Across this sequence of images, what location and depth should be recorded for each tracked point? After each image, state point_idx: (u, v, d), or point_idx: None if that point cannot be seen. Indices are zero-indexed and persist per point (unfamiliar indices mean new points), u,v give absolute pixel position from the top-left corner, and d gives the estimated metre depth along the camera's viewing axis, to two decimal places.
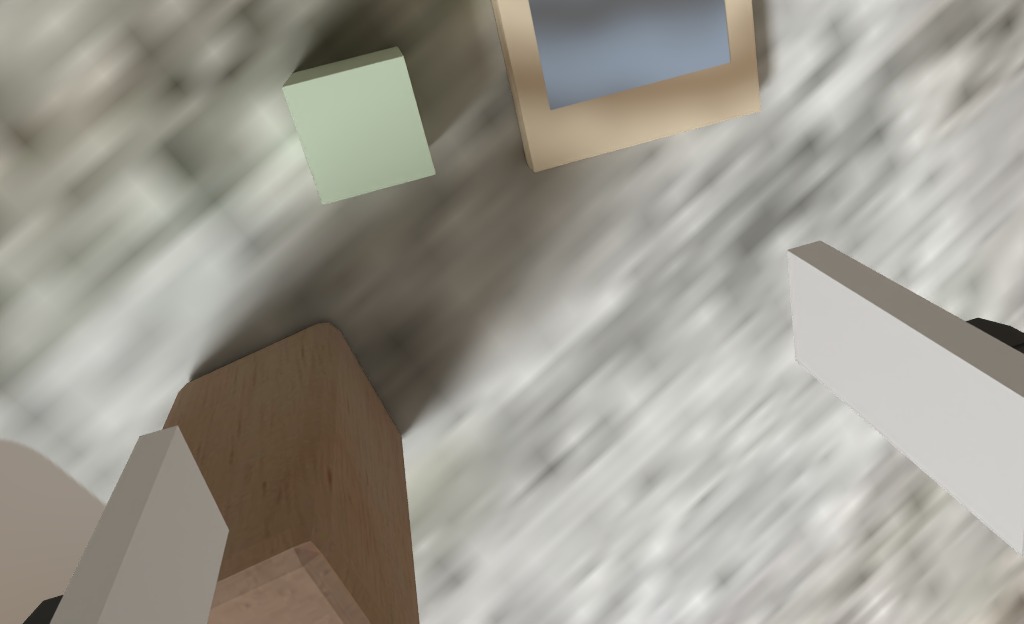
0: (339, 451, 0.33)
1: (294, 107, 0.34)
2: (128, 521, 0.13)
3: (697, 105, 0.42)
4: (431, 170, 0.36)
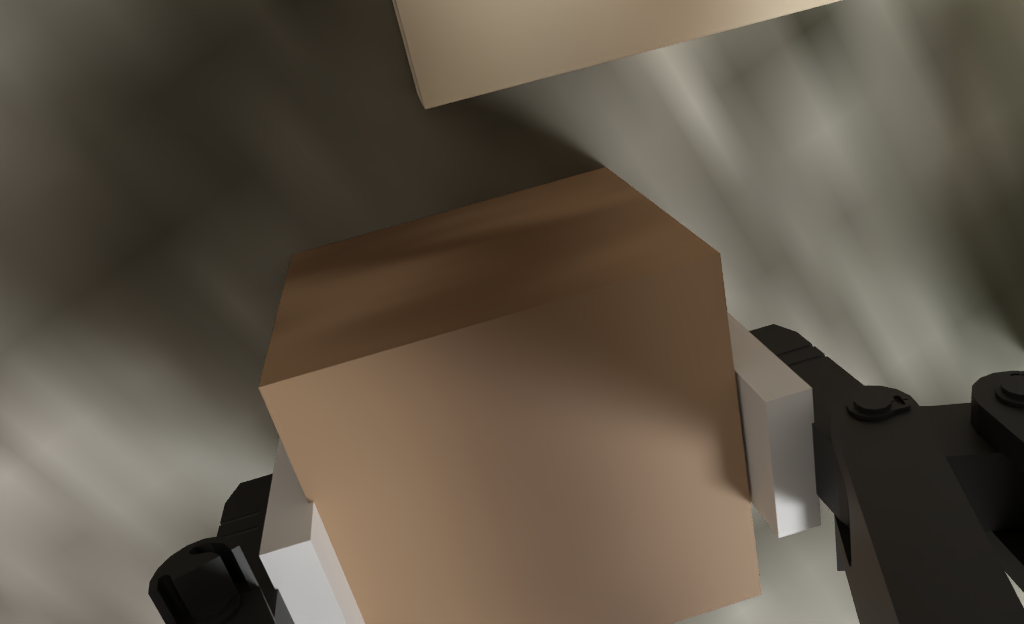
0: None
1: None
2: None
3: None
4: None
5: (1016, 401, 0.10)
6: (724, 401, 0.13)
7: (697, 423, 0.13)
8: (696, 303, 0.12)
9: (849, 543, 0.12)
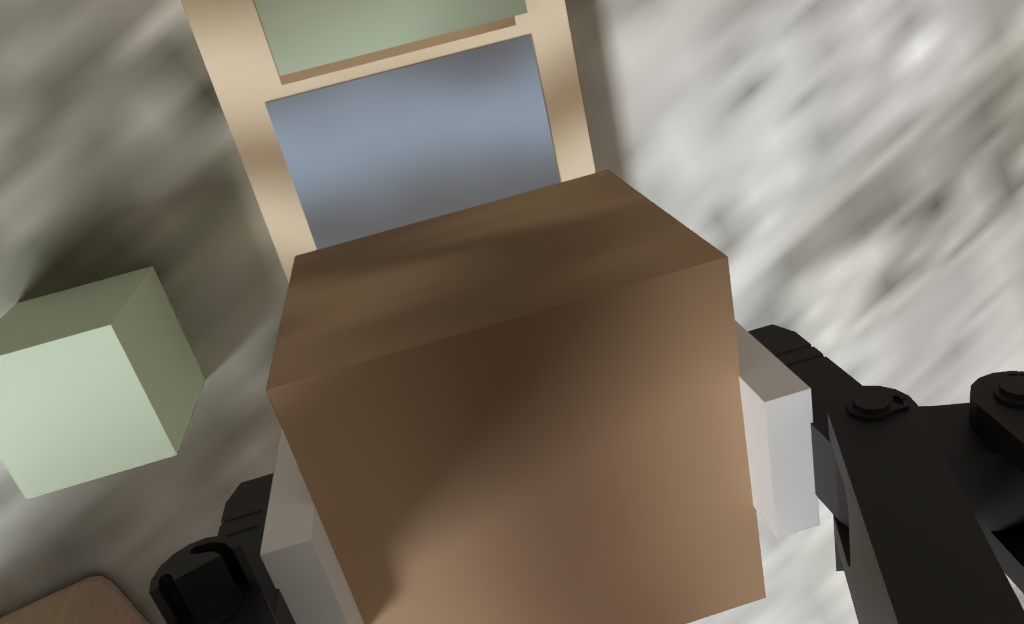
0: None
1: None
2: None
3: None
4: (170, 451, 0.28)
5: (1014, 401, 0.10)
6: (730, 404, 0.13)
7: (704, 426, 0.13)
8: (703, 306, 0.12)
9: (848, 543, 0.12)
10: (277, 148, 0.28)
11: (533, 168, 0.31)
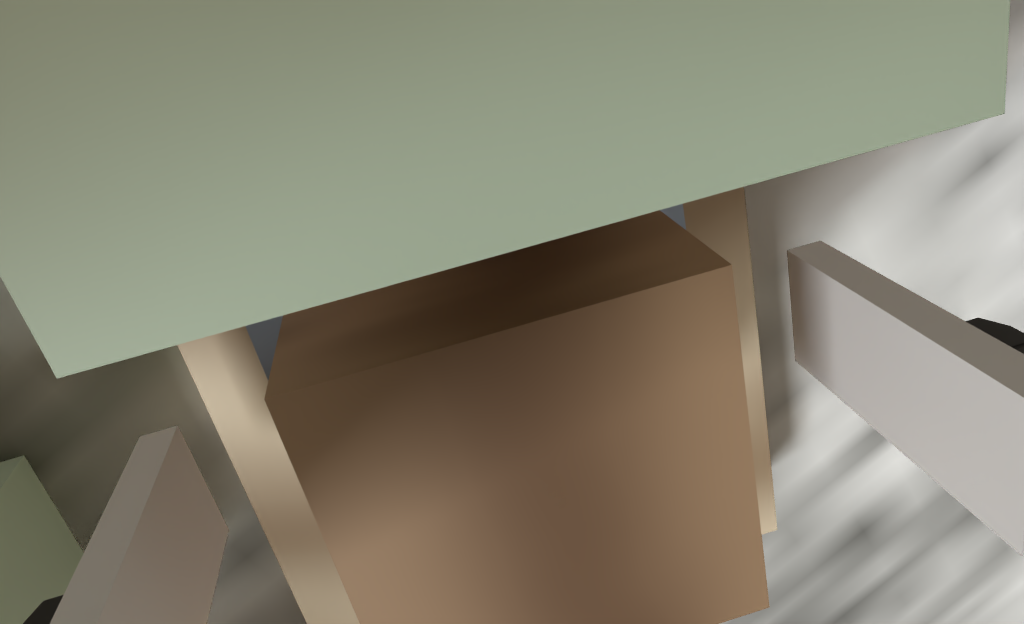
0: None
1: None
2: (128, 521, 0.13)
3: None
4: None
5: None
6: (734, 413, 0.12)
7: (707, 435, 0.12)
8: (707, 315, 0.12)
9: None
10: None
11: None
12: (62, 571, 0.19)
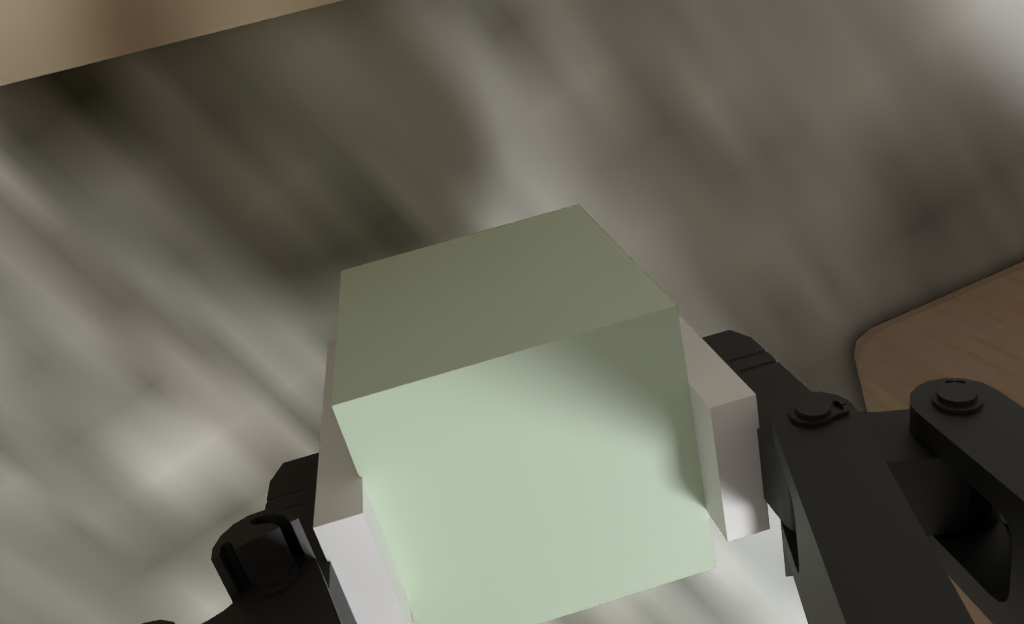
0: None
1: None
2: None
3: None
4: (663, 317, 0.12)
5: (953, 408, 0.11)
6: None
7: None
8: None
9: (796, 549, 0.12)
10: None
11: None
12: (471, 252, 0.16)
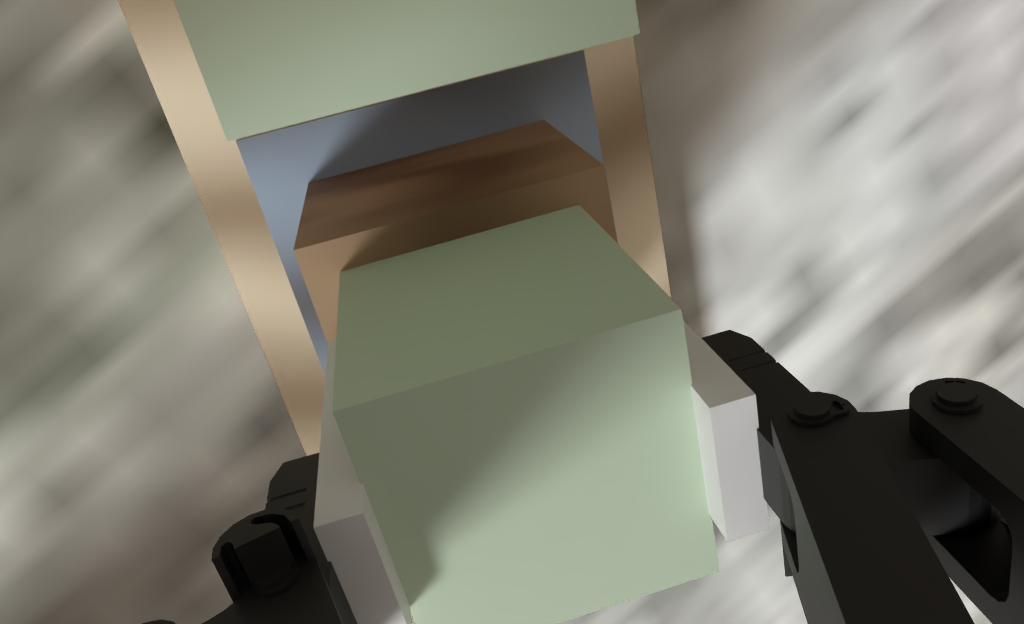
0: None
1: None
2: None
3: None
4: (668, 321, 0.12)
5: (952, 408, 0.11)
6: None
7: None
8: (589, 200, 0.17)
9: (796, 549, 0.12)
10: (253, 198, 0.22)
11: None
12: (471, 253, 0.16)
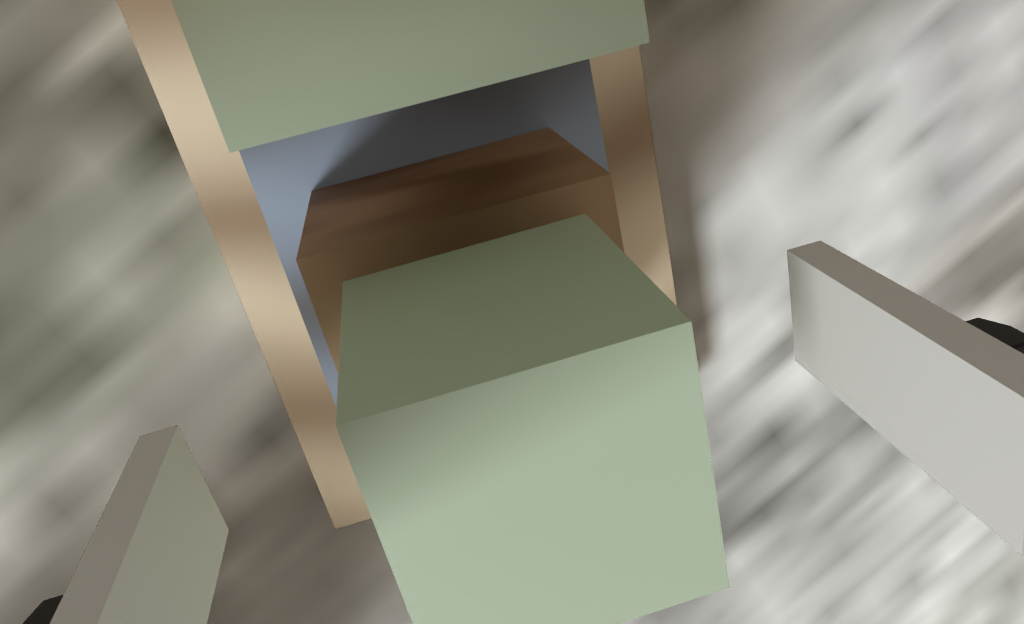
0: None
1: None
2: (128, 521, 0.13)
3: None
4: (677, 333, 0.12)
5: None
6: None
7: None
8: (596, 209, 0.17)
9: None
10: (255, 207, 0.22)
11: None
12: (476, 263, 0.16)
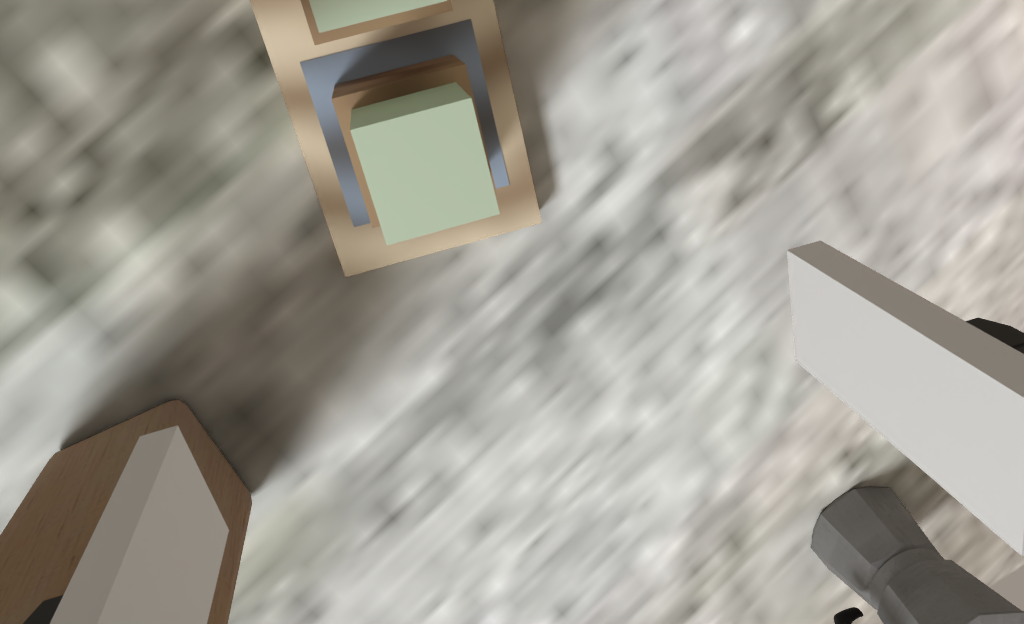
0: None
1: (405, 235, 0.36)
2: (128, 521, 0.13)
3: (484, 219, 0.49)
4: (467, 102, 0.34)
5: None
6: None
7: None
8: (460, 80, 0.39)
9: None
10: (307, 92, 0.44)
11: None
12: (406, 98, 0.38)
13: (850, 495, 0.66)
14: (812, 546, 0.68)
